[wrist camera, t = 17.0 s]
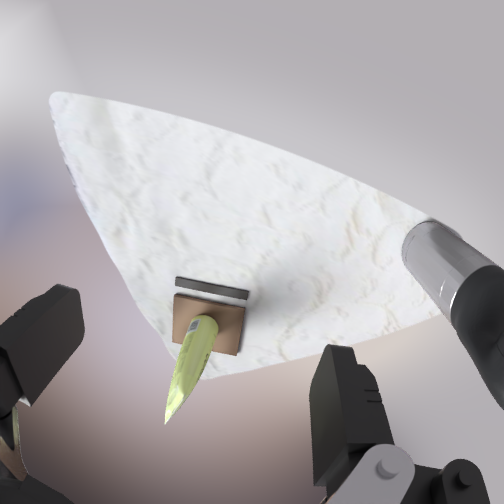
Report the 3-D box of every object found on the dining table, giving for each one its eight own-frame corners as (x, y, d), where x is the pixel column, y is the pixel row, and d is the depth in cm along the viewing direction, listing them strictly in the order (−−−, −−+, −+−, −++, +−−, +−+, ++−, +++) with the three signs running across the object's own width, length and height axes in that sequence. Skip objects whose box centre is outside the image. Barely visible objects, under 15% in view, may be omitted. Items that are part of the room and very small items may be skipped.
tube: (223, 338, 52) (198, 426, 34) (196, 341, 53) (163, 425, 35) (214, 312, 50) (183, 398, 32) (186, 315, 51) (146, 397, 33)
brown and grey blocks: (248, 291, 49) (247, 293, 48) (237, 353, 54) (236, 356, 53) (176, 276, 49) (174, 279, 48) (173, 339, 54) (172, 342, 53)
